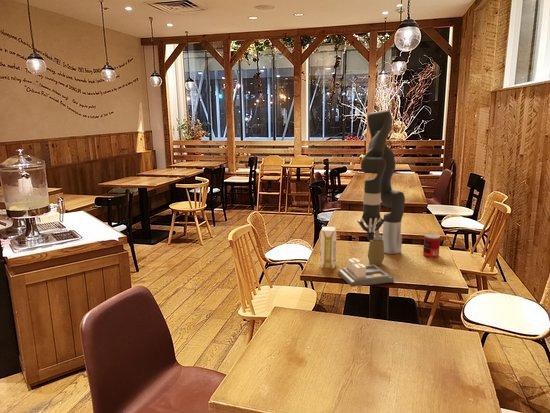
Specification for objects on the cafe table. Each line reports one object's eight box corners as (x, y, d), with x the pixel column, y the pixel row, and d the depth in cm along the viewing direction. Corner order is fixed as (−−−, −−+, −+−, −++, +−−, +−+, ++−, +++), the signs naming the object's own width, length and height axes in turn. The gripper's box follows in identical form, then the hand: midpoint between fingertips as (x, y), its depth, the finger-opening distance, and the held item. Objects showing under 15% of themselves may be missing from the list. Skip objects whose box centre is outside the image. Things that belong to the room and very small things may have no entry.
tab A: (356, 268, 193) (356, 257, 191) (359, 271, 189) (360, 260, 188) (347, 269, 192) (348, 257, 191) (351, 272, 188) (352, 260, 187)
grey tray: (377, 269, 198) (377, 263, 197) (393, 281, 184) (393, 275, 183) (337, 273, 193) (338, 267, 193) (351, 286, 179) (351, 280, 178)
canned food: (440, 254, 218) (441, 234, 215) (436, 259, 211) (438, 238, 209) (424, 252, 222) (426, 232, 219) (421, 256, 215) (422, 236, 213)
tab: (361, 274, 186) (362, 262, 185) (365, 277, 182) (366, 265, 181) (353, 275, 185) (353, 263, 184) (357, 278, 181) (357, 266, 180)
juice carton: (335, 263, 207) (336, 226, 202) (335, 269, 198) (336, 231, 194) (320, 262, 208) (321, 225, 203) (319, 268, 199) (320, 230, 195)
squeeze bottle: (364, 263, 206) (365, 228, 202) (372, 259, 211) (374, 225, 207) (378, 267, 200) (380, 231, 196) (387, 263, 206) (389, 228, 202)
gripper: (381, 199, 190) (379, 236, 194) (354, 201, 187) (353, 238, 191) (389, 203, 183) (387, 240, 187) (362, 205, 180) (360, 243, 184)
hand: (370, 239), depth 189 cm, fingers closed
